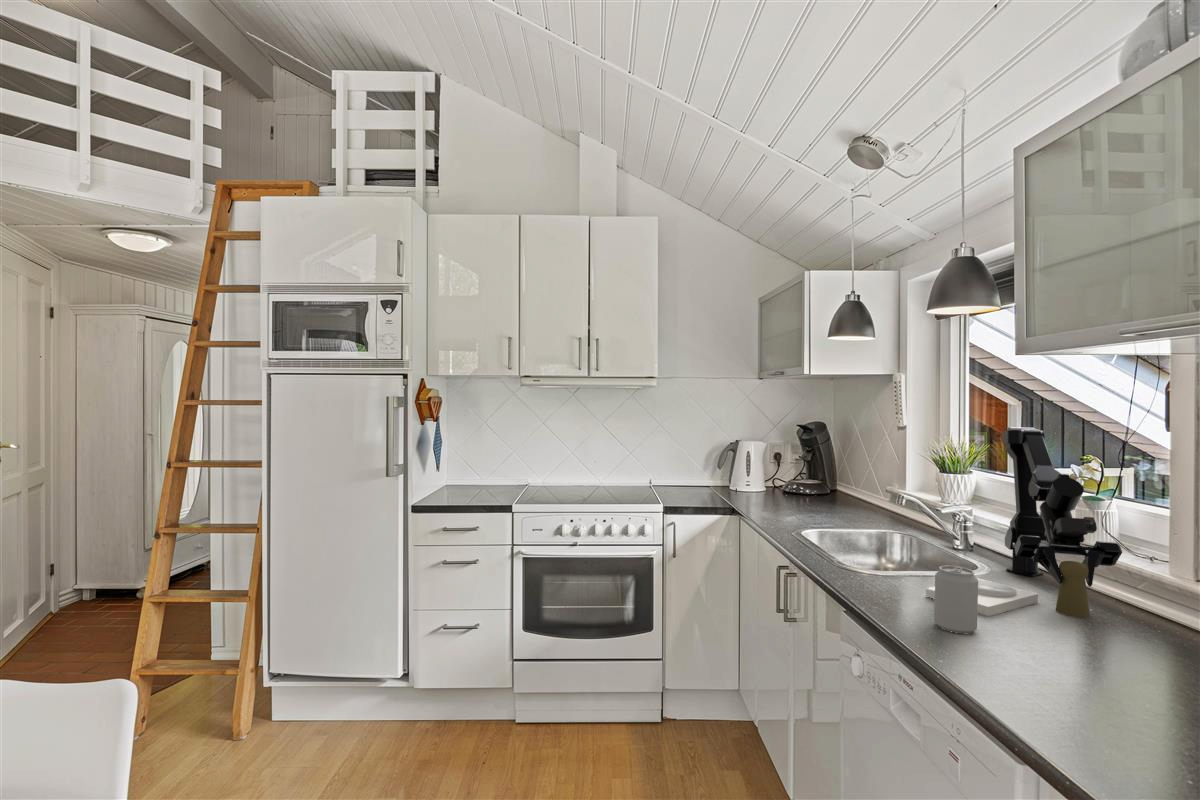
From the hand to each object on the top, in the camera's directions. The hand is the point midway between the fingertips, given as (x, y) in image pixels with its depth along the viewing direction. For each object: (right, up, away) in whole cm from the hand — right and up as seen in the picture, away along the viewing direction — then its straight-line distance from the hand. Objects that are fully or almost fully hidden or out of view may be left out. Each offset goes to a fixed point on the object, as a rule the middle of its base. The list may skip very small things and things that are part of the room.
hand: (1075, 584), depth 134 cm
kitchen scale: (-15, -6, +9) cm, 18 cm away
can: (-31, -6, -9) cm, 33 cm away
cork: (0, -7, +1) cm, 7 cm away
